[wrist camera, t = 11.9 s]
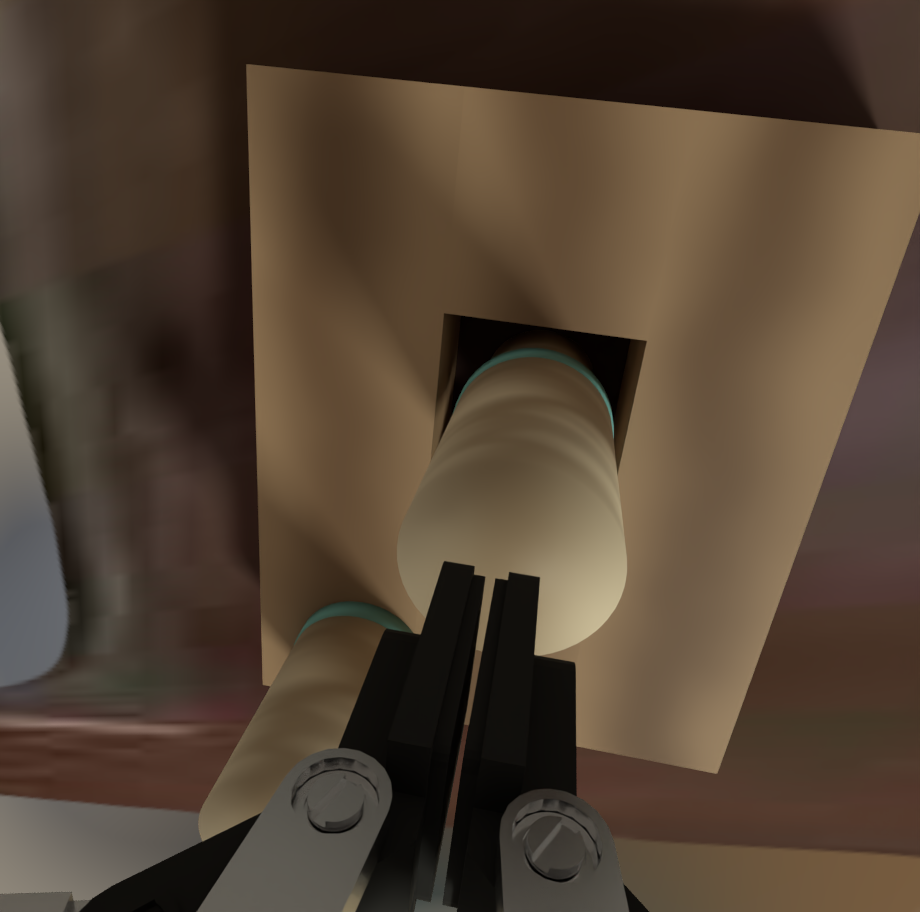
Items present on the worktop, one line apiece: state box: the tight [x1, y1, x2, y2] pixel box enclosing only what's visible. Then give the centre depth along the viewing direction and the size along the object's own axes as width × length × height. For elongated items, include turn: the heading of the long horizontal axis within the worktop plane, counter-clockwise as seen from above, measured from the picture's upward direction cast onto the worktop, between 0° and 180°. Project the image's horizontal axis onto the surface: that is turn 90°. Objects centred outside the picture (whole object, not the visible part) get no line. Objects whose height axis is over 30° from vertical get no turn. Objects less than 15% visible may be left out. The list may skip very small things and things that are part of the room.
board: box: [199, 64, 920, 841], centre depth 21 cm, size 18×22×12 cm
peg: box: [397, 330, 627, 656], centre depth 20 cm, size 5×5×12 cm
